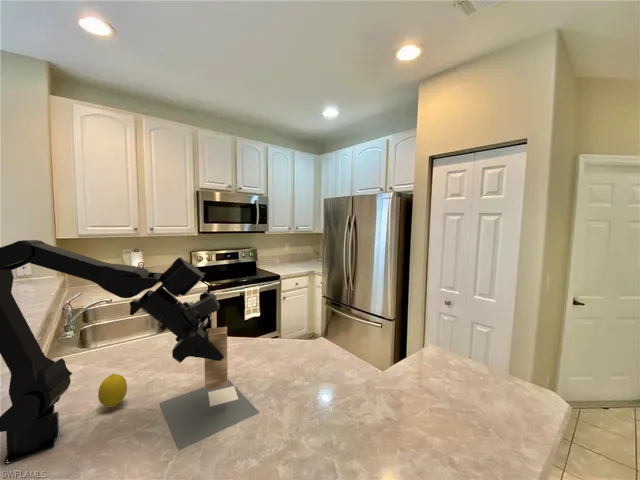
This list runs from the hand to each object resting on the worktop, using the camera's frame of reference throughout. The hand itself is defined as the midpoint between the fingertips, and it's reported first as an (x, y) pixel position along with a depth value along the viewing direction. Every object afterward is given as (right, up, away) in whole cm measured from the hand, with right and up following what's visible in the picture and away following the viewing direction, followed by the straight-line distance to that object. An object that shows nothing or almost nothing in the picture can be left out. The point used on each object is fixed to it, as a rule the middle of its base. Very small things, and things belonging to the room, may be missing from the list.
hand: (222, 354), depth 64 cm
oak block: (-1, -6, 0) cm, 7 cm away
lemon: (-27, -14, +2) cm, 31 cm away
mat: (-4, -14, +1) cm, 14 cm away
